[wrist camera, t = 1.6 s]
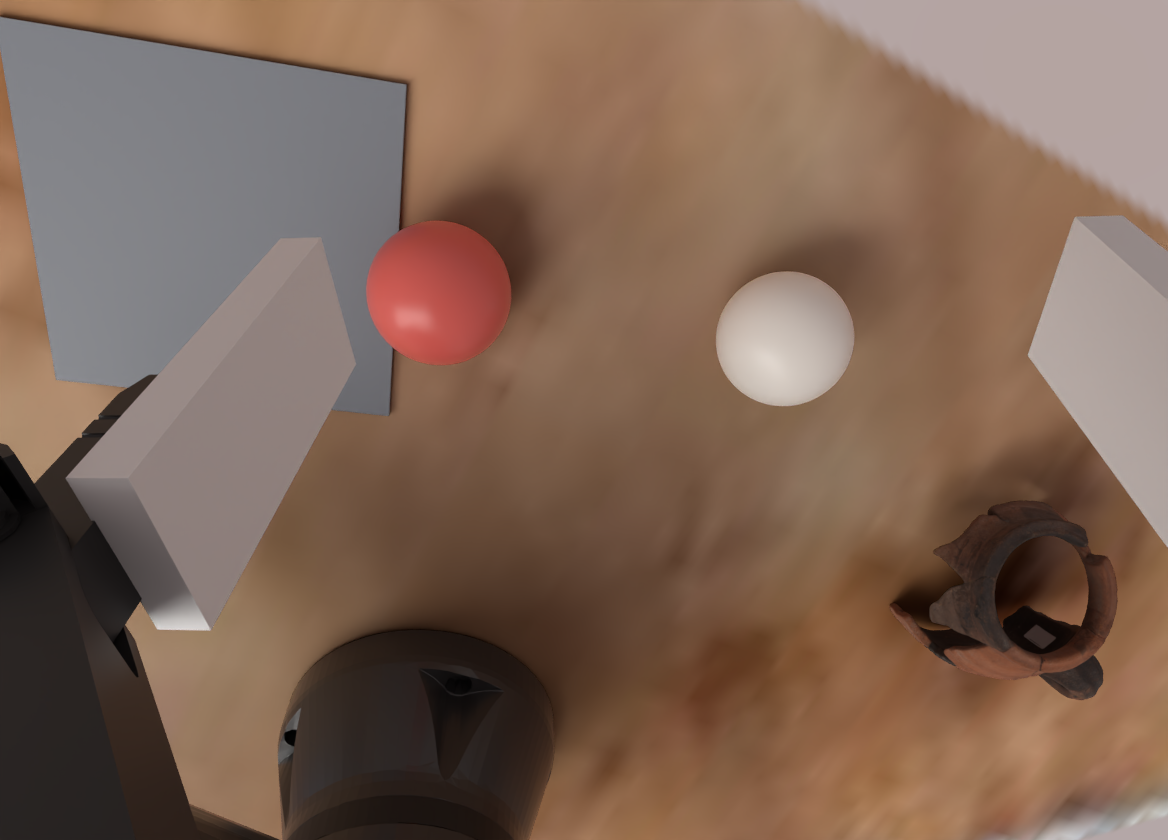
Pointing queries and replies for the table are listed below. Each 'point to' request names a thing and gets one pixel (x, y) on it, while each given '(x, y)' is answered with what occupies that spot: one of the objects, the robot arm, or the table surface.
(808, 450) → the table surface
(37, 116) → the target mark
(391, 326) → the red ball
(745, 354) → the cue ball
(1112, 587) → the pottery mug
